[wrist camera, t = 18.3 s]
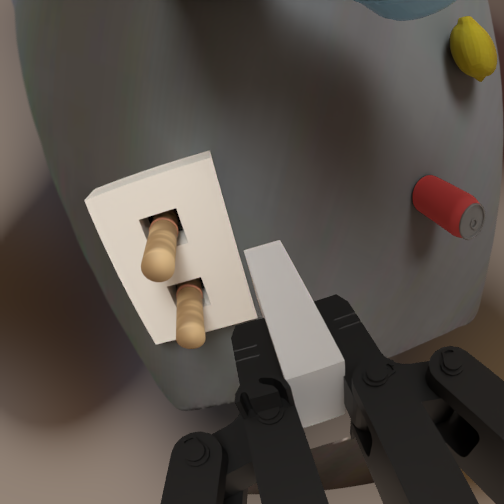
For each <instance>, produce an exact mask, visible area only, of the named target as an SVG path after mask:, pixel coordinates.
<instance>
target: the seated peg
mask: <svg viewBox="0 0 504 504" xmlns="http://www.w3.org/2000/svg"><path fill="white" fill-rule="evenodd" d="M177 237H178V219H177V214H176V212H175V211H174V210H173V209H171V210H168V211H165V212H162V213H159V214H156V215H155V216H154V218H153V220H152V223H151V225H150V228H149V235H148V239H147V242H146V246H145V250H144V254H143V258H142V262H141V271H142V273H143V275H144V276H145V277H146V278H147V279H149V280H151V281H153V282H164V281H167V280H168V279H170V278H171V277H172V275H173V274H174V271H175V258H176V245H177Z"/></svg>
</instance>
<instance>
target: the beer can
mask: <svg viewBox="0 0 504 504" xmlns="http://www.w3.org/2000/svg"><path fill="white" fill-rule="evenodd" d="M412 199H413V204H414V206H415V208H416V209H417V210H418V211H419V212H421V213H422V214H424V215H425V216H427V217H428V218H429V219H431V220H432V221H434V222H435V223H437V224H438V225H440V226H441V227H442V228H444V229H445V230H447V231H448V232H449V233H451V234H452V235H453V236H456V237H460V238H463V239H466V240H470V239H472V238H474V237H475V236H476V235H477V234H478V233H479V232H480V230H481V229H482V227H483V224H484V221H485V210H484V207H483V206H482V205H481V204H480V203H479V202H478V201H477V200H476V198H475V197H474V196H472V195H470V194H469V193H467V192H465V191H463V190H461V189H459V188H457V187H455V186H454V185H452V184H450V183H448V182H446V181H444V180H442V179H440V178H438V177H436V176H433V175H427V176H425V177H423V178H421V179H420V180H419V181H418V182H417V184H416V185H415V187H414V190H413V197H412Z"/></svg>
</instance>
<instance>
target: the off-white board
mask: <svg viewBox="0 0 504 504" xmlns="http://www.w3.org/2000/svg"><path fill="white" fill-rule="evenodd" d="M84 201H85V203H86V205H87V208H88V210H89V213H90V215H91V217H92V220H93V222H94V224H95V227H96V229H97V231H98V233H99V236H100V238H101V240H102V242H103V244H104V247H105V249H106V251H107V253H108V255H109V257H110V259H111V261H112V263H113V266H114V268H115V270H116V272H117V274H118V276H119V278H120V280H121V282H122V284H123V286H124V288H125V289H126V291H127V293H128V295H129V297H130V299H131V301H132V303H133V305H134V307H135V308H136V310H137V312H138V314H139V316H140V318H141V319H142V321H143V323H144V325H145V327H146V328H147V330H148V332H149V334H150V335H151V337H152V339H153V340H154V342H155V344H160V343H164V342H168V341H172V340H176V311H177V299H176V292H177V288H176V286H175V284H178V283H182V282H185V281H189V280H192V279H196V278H199V277H201V279H202V281H203V284H204V286H205V288H203V289H202V293H203V299H202V302H203V315H204V327H205V332H208V331H212V330H215V329H219V328H223V327H226V326H230V325H234V324H237V323H241V322H244V321H248V320H252V319H255V318H257V314H256V311H255V308H254V304H253V301H252V297H251V294H250V290H249V287H248V284H247V280H246V277H245V273H244V270H243V266H242V263H241V259H240V256H239V252H238V249H237V245H236V242H235V238H234V235H233V231H232V228H231V224H230V221H229V217H228V214H227V210H226V207H225V203H224V200H223V196H222V193H221V189H220V185H219V182H218V178H217V175H216V171H215V168H214V164H213V160H212V157H211V153H210V151H206V152H203V153H199V154H196V155H192V156H189V157H186V158H183V159H179V160H176V161H173V162H170V163H167V164H164V165H160V166H157V167H154V168H151V169H148V170H145V171H143V172H140V173H137V174H134V175H131V176H128V177H125V178H123V179H120V180H117V181H114V182H112V183H109V184H106V185H104V186H101V187H99V188H96V189H94V190H93V191H92V192H91V193H90V195H89V196H88V197H87V198H86V199H85V200H84ZM175 208H176V209H177V212H178V215H179V218H180V221H181V224H182V227H183V229H184V230H181V231H178V237H177V245H176V258H175V271H174V274H173V275H172V277H171V278H170V279H168V280H167V281H164V282H153V281H151V280H149V279H147V278H146V277H145V276H144V275H143V273H142V271H141V262H142V258H143V254H144V250H145V246H146V242H147V239H148V235H149V228H150V222H149V220H148V217H149V216H152V215H156V214H159V213H162V212H165V211H168V210H171V209H175Z"/></svg>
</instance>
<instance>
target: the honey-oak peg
mask: <svg viewBox="0 0 504 504" xmlns="http://www.w3.org/2000/svg"><path fill="white" fill-rule="evenodd" d="M176 299H177V311H176V341H177V343H178V344H179V345H180V346H182V347H184V348H187V349H195V348H198V347H200V346H201V345H203V344H204V342H205V327H204V315H203V302H202V299H203V293H202V289H201V282H200V280H199V278H196V279H192V280H189V281H185V282H182V283H178V284H177V292H176Z"/></svg>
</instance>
